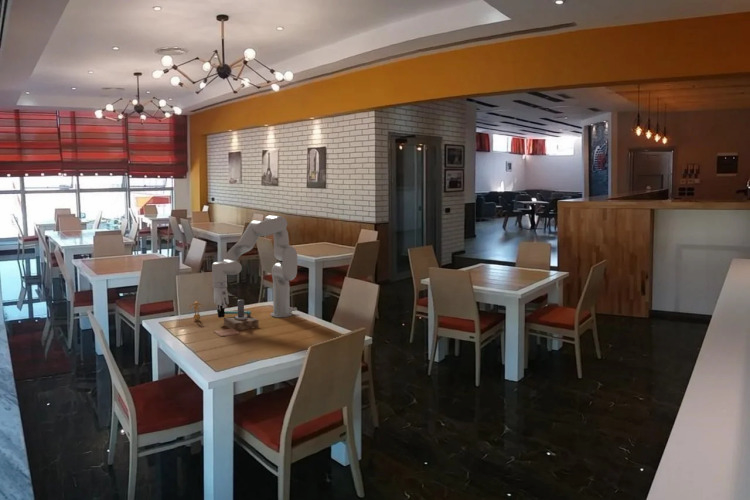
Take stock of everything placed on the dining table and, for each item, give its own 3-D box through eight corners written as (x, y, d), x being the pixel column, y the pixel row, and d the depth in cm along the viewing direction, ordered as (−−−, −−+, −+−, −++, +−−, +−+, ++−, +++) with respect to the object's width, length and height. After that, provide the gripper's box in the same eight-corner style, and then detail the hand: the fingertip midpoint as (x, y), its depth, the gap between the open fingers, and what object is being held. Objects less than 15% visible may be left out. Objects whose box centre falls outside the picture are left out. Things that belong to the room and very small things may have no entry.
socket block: (247, 321, 324) (247, 312, 323) (258, 327, 313) (258, 317, 312) (223, 325, 316) (223, 315, 315) (234, 330, 304) (234, 320, 304)
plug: (243, 324, 318) (243, 298, 317) (248, 326, 314) (248, 300, 312) (233, 325, 315) (233, 299, 313) (238, 328, 310) (237, 301, 308)
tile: (232, 329, 307) (231, 328, 307) (239, 333, 299) (239, 332, 299) (213, 332, 301) (213, 331, 301) (221, 336, 293) (221, 335, 293)
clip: (251, 313, 321) (251, 308, 320) (250, 314, 318) (250, 309, 318) (217, 313, 319) (217, 308, 319) (216, 314, 317) (216, 309, 317)
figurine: (205, 319, 327) (204, 298, 326) (204, 322, 322) (203, 301, 320) (189, 320, 326) (189, 299, 324) (188, 322, 320) (188, 301, 318)
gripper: (231, 285, 309) (233, 318, 312) (220, 281, 321) (222, 313, 324) (218, 287, 305) (220, 321, 308) (208, 283, 317) (209, 315, 319)
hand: (221, 317), depth 316 cm, fingers closed
